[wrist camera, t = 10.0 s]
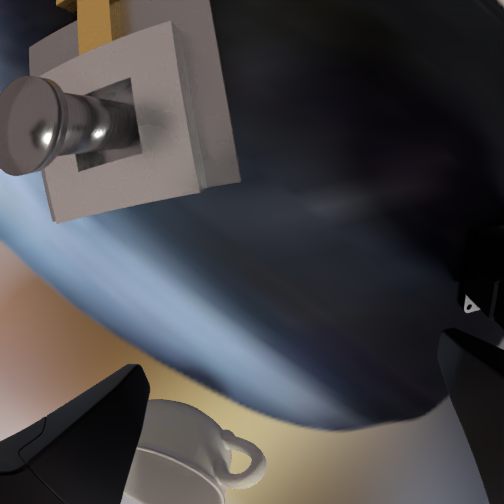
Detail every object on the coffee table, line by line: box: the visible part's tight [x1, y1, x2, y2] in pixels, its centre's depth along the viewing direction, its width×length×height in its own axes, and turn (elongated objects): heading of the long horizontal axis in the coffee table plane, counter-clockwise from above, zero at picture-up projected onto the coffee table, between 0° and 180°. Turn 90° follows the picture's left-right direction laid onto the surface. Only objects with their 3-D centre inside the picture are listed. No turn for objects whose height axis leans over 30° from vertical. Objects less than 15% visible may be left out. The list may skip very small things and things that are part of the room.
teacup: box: [123, 399, 266, 504], centre depth 22 cm, size 14×11×8 cm
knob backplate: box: [29, 0, 242, 224], centre depth 16 cm, size 14×17×2 cm
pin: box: [0, 76, 138, 176], centre depth 13 cm, size 4×4×9 cm
